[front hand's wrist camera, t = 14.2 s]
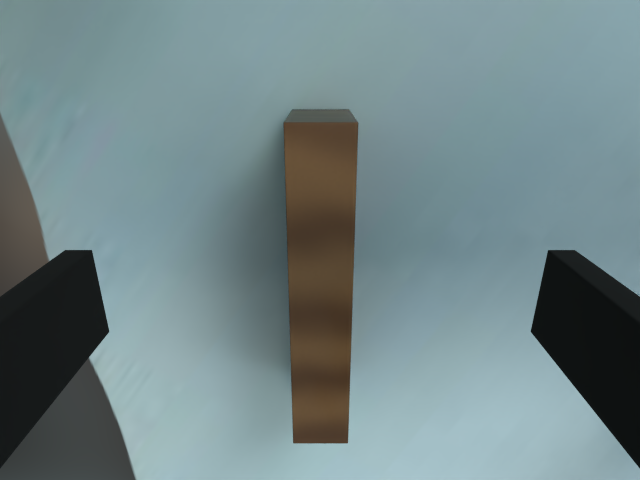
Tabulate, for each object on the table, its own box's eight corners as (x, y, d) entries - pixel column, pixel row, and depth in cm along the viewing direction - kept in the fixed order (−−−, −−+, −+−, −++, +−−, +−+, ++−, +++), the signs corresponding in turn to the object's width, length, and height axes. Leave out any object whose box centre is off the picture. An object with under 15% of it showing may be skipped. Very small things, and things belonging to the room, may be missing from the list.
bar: (292, 109, 34) (283, 122, 26) (349, 109, 34) (358, 122, 26) (298, 374, 44) (293, 443, 36) (342, 374, 44) (347, 443, 36)
